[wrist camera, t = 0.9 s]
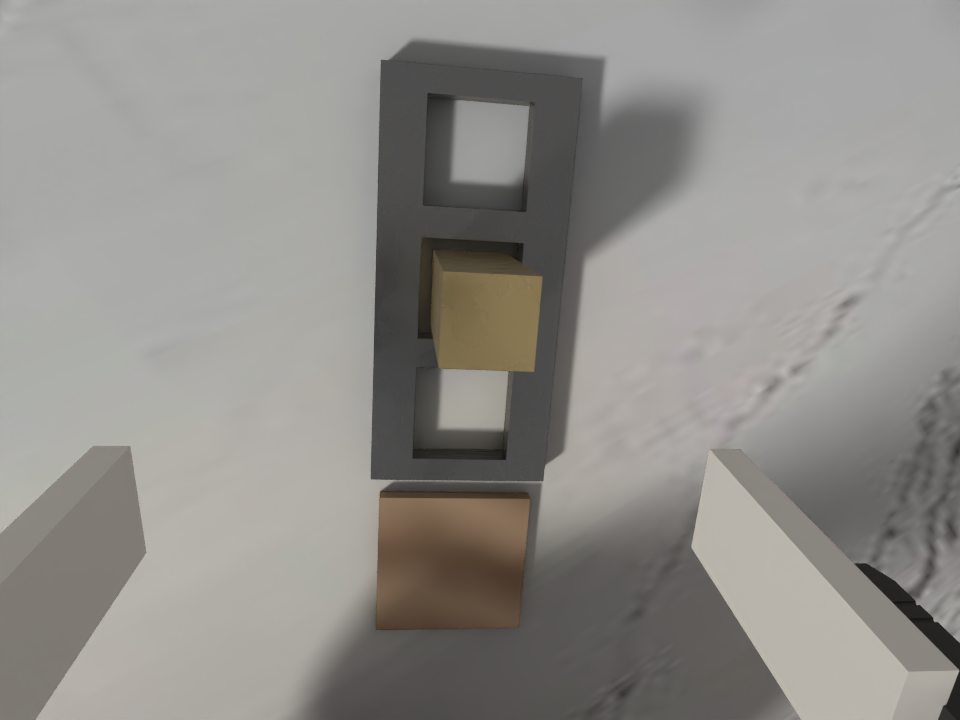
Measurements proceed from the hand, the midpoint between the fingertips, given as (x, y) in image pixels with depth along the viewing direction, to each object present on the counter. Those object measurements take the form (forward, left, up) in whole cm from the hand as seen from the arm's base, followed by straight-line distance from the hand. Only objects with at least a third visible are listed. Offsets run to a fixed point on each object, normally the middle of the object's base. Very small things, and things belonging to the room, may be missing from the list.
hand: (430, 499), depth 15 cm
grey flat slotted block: (+2, -3, -22) cm, 22 cm away
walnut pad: (-15, -3, -22) cm, 27 cm away
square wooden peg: (+2, -3, -22) cm, 22 cm away
